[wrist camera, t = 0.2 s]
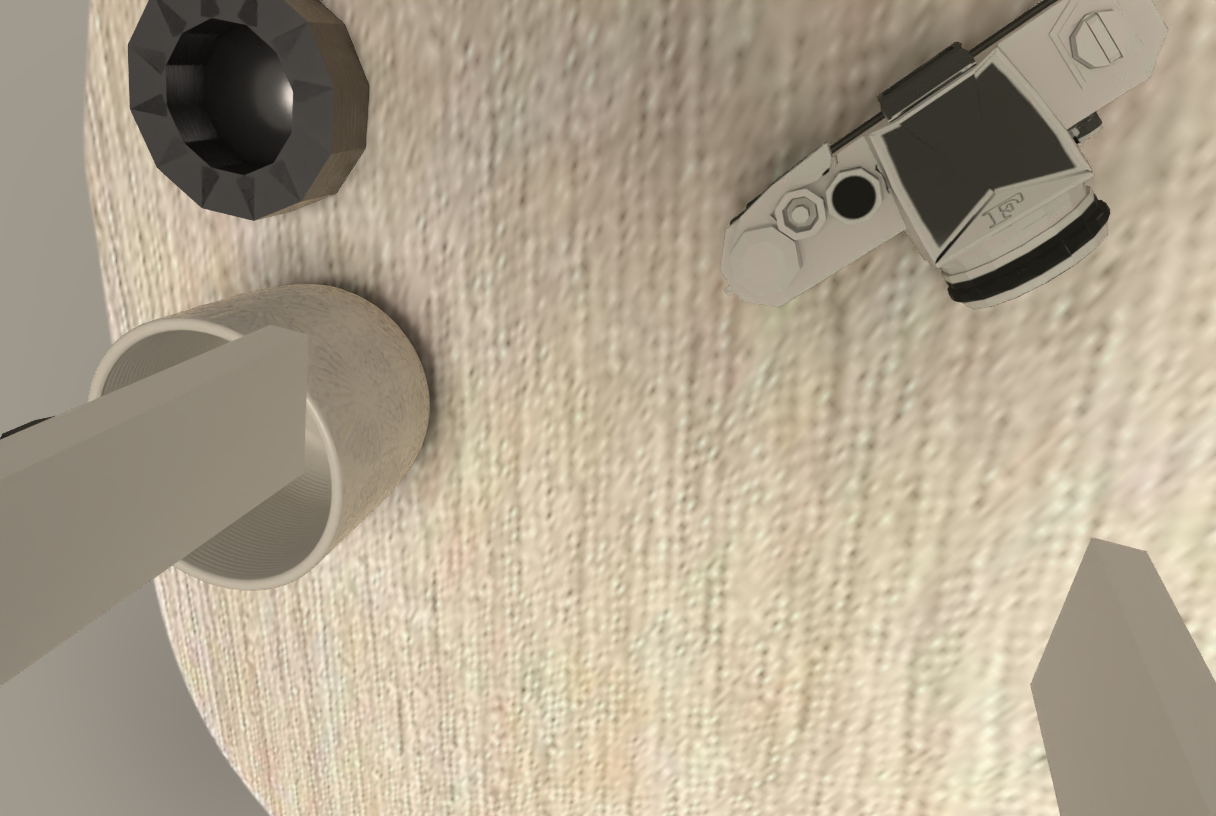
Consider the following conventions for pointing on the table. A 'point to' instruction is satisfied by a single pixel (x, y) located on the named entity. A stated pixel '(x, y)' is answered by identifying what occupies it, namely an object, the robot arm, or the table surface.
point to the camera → (960, 163)
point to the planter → (335, 421)
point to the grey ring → (248, 101)
